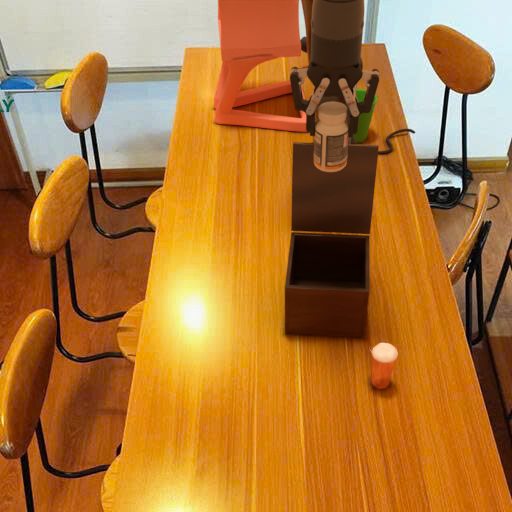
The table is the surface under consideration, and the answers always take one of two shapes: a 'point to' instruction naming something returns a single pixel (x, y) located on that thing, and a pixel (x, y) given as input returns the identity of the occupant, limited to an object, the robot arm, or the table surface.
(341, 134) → the pill bottle
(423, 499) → the table surface
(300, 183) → the lid
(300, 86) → the robot arm
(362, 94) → the cup
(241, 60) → the chair
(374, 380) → the milkshake
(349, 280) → the chest
